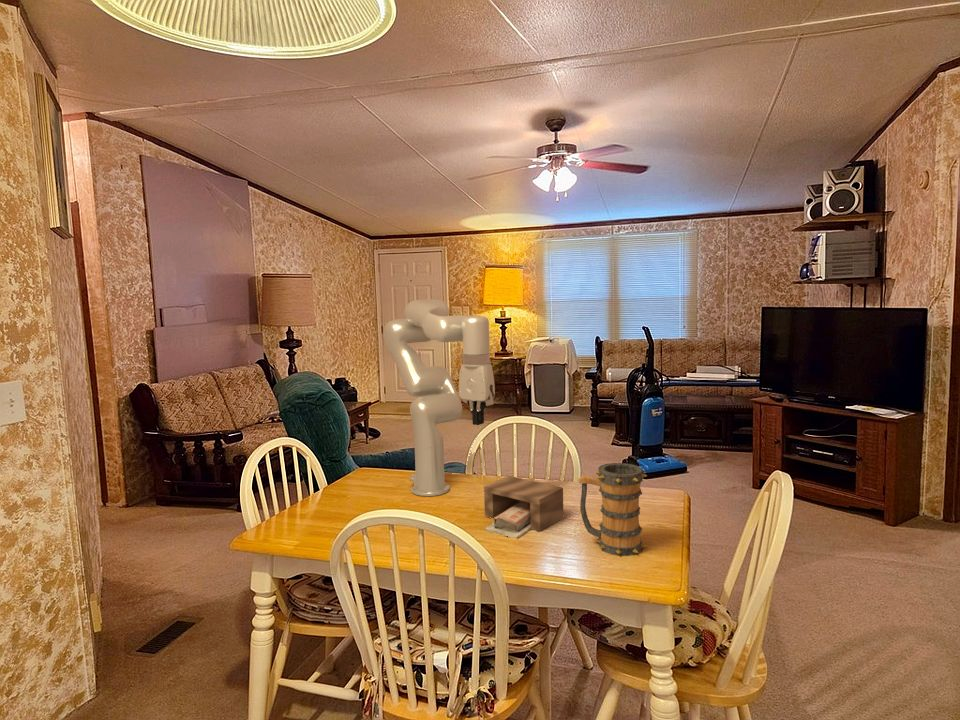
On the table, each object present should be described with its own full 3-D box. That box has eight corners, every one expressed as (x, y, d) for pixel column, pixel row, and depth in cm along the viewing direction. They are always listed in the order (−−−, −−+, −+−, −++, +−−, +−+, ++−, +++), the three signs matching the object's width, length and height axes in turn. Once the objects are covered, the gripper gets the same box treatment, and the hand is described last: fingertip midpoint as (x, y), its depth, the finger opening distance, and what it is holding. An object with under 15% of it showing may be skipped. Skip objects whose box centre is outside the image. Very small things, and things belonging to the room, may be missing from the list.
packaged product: (517, 496, 173) (547, 502, 167) (517, 512, 173) (547, 518, 168) (484, 516, 158) (516, 523, 152) (484, 533, 158) (517, 541, 153)
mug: (646, 560, 138) (646, 478, 136) (573, 553, 144) (572, 473, 142) (648, 539, 151) (648, 463, 149) (580, 532, 156) (580, 459, 154)
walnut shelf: (484, 516, 169) (484, 486, 168) (509, 504, 178) (508, 476, 178) (540, 531, 157) (539, 499, 156) (563, 518, 166) (563, 487, 166)
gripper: (448, 360, 167) (450, 423, 169) (489, 362, 158) (490, 429, 160) (465, 357, 173) (467, 419, 175) (505, 360, 164) (507, 424, 166)
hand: (478, 423), depth 167 cm, fingers closed
